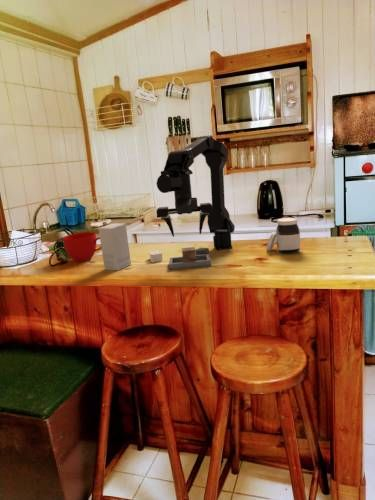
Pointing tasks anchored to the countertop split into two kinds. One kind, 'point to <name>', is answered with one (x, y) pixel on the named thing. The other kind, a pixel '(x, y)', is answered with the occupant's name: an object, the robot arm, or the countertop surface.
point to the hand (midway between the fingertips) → (186, 235)
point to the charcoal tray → (179, 264)
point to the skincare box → (114, 246)
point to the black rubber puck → (202, 251)
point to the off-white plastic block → (155, 255)
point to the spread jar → (286, 236)
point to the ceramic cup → (81, 246)
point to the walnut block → (189, 254)
